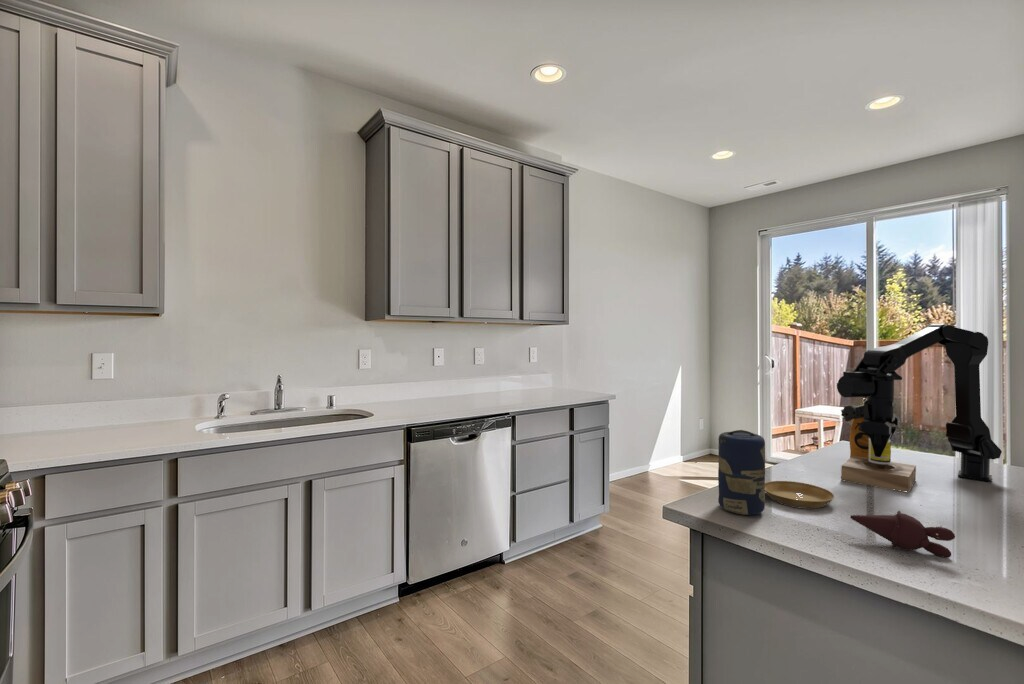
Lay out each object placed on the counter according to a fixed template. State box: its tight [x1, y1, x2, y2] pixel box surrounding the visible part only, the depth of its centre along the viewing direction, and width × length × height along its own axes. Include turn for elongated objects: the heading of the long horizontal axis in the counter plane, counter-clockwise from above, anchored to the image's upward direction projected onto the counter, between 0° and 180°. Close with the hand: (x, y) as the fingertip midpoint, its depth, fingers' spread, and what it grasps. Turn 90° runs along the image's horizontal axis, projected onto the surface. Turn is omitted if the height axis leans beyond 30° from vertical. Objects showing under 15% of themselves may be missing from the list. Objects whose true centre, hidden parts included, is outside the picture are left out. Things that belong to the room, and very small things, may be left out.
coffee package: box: [849, 397, 870, 459], centre depth 145 cm, size 10×12×22 cm
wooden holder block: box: [840, 456, 917, 493], centre depth 129 cm, size 14×14×4 cm
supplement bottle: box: [868, 438, 892, 465], centre depth 129 cm, size 5×5×8 cm
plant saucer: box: [765, 480, 835, 510], centre depth 114 cm, size 15×15×3 cm
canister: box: [717, 429, 766, 516], centre depth 108 cm, size 10×10×18 cm
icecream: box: [849, 511, 956, 559], centre depth 89 cm, size 7×7×15 cm
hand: (879, 454), depth 129 cm, fingers closed on supplement bottle, 5 cm apart
